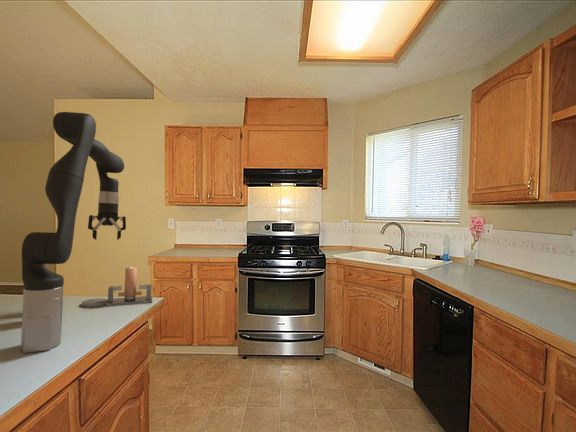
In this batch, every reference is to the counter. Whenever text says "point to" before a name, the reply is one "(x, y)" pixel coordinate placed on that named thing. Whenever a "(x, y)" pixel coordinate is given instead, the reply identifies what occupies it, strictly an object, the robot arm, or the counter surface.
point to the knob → (130, 283)
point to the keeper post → (126, 299)
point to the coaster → (94, 303)
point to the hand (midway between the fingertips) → (106, 239)
